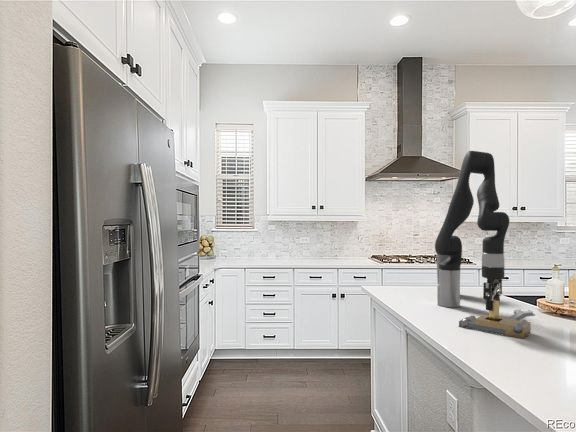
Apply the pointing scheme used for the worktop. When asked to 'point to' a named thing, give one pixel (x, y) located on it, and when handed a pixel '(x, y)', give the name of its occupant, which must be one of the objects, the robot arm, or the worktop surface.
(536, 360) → the worktop surface
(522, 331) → the brass frame with rod
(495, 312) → the pin
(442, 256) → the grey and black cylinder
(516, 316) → the adjustable wrench
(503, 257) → the robot arm
